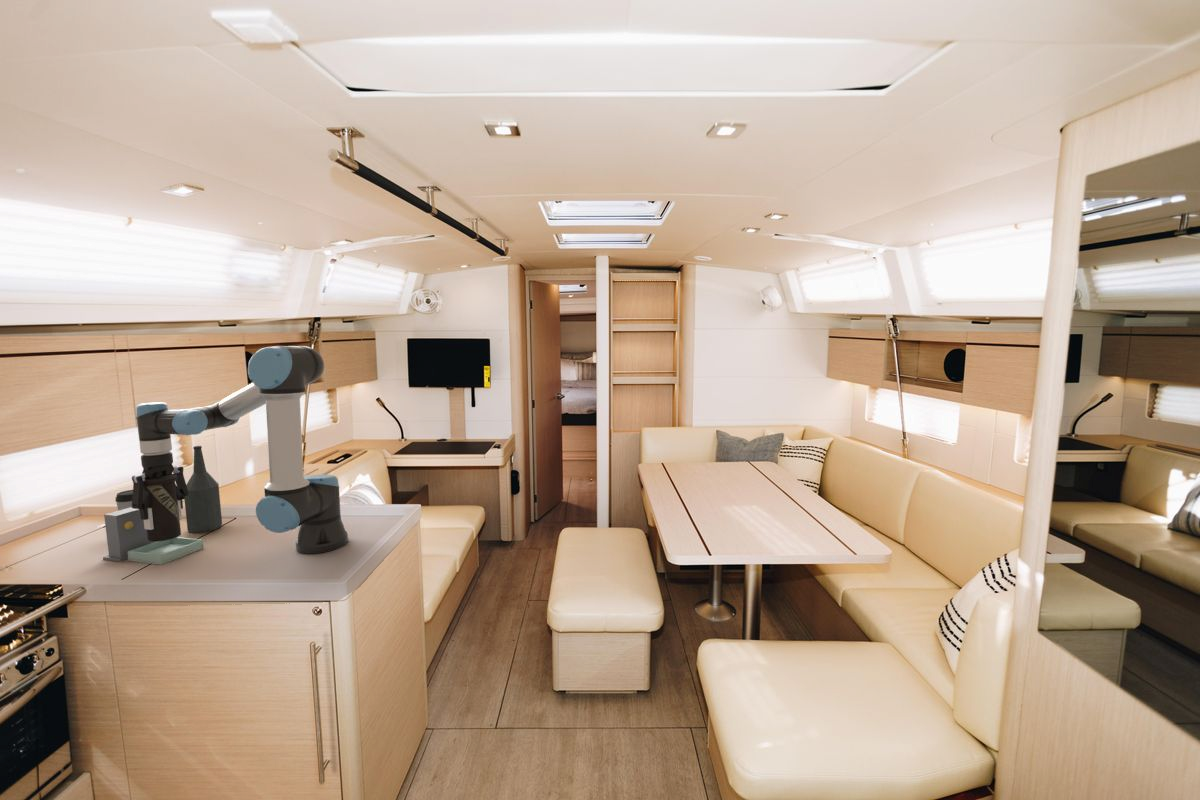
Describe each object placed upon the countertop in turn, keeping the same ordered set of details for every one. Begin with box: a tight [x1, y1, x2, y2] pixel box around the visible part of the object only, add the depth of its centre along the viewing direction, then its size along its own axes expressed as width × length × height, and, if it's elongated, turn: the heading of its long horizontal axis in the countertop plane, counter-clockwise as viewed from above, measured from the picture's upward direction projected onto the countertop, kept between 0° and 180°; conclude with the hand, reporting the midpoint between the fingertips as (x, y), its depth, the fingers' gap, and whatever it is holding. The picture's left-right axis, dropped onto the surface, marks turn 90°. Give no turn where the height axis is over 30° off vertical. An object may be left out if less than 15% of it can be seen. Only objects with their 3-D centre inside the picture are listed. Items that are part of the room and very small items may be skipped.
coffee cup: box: [114, 489, 133, 511], centre depth 186 cm, size 8×8×15 cm
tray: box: [127, 536, 205, 566], centre depth 169 cm, size 13×13×3 cm
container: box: [143, 473, 182, 542], centre depth 167 cm, size 9×9×20 cm
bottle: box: [183, 445, 223, 534], centre depth 190 cm, size 10×10×30 cm
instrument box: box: [102, 507, 157, 562], centre depth 170 cm, size 7×14×14 cm, turn 165°
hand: (163, 524), depth 168 cm, fingers closed on container, 8 cm apart
